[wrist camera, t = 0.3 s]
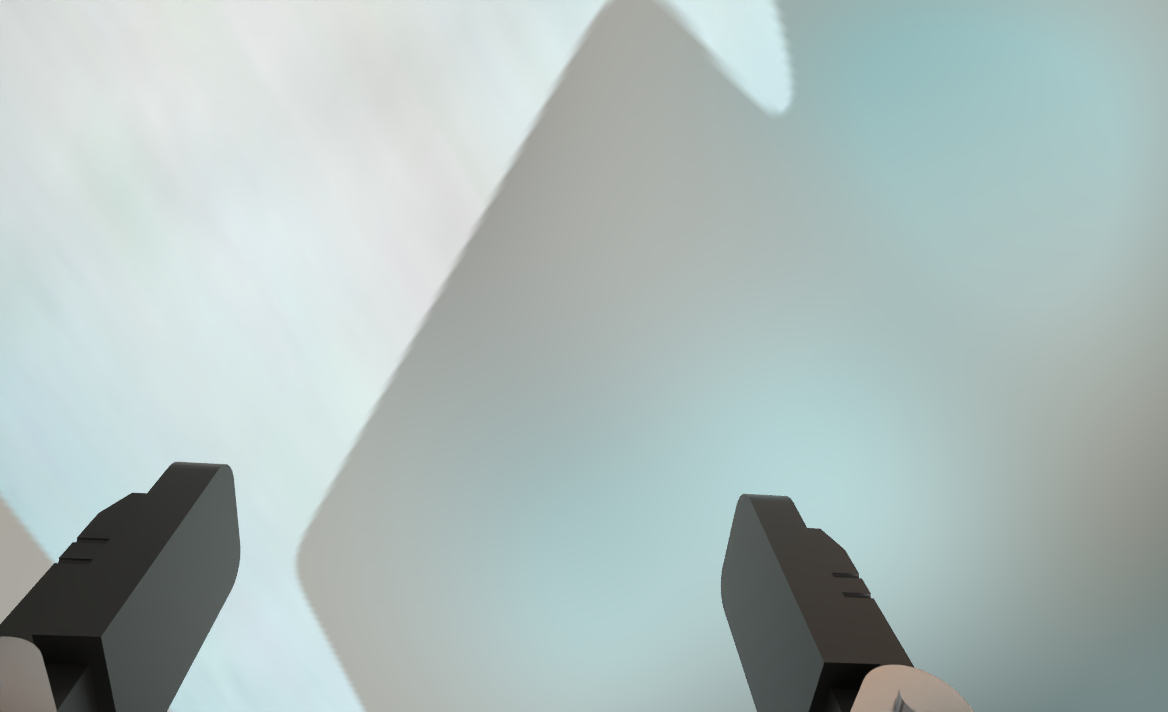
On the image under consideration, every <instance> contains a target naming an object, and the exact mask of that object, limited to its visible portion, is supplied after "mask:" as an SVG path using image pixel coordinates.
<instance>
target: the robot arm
mask: <svg viewBox="0 0 1168 712" xmlns="http://www.w3.org/2000/svg"><path fill="white" fill-rule="evenodd" d="M239 561H240V539H239V528H238V518H237V507H236V497H235V487H234V477H233V473H232V470H231V468H230V466H228V465H226V464H208V463H190V462H174V463H173V464H171V465H170V466H169V467H168V469H167V470H166V471H165V472H164V473H163V475H162V476H161V477H160V478H159V480H158V481H157V482H156V483H155V484H154V486H153V487H152V488H151V489H150V491H149V492H148V493H147V494H145V493H131V494H129V495H128V496H126V497H124V498H123V499H121V500H120V501H118V502H116V503H115V504H113V505H111V506H110V507H108V508H106V509H105V510H103V511H101V512H100V513H98V515H97V516H96V517H95V518H94V519H93V520H92V521H91V522H90V524H89V525H88V526H87V527H86V528H85V529H84V530H83V531H82V533H81V534H80V535H79V536H78V537H77V542H76V543H75V542H73V543H72V544H71V545H70V546H69V547H68V548H67V550H66V551H65V552H64V553H63V554H62V555H61V556H60V557H59V562H58V563H54V564H53V565H52V567H51V568H50V569H49V570H48V571H47V572H46V573H45V575H44V576H43V577H42V578H41V579H40V580H39V581H38V582H37V583H36V585H35V586H34V587H33V588H32V589H31V590H30V591H29V593H28V594H27V595H26V596H25V597H24V598H23V599H22V600H21V602H20V603H19V604H18V605H17V606H16V607H15V608H14V610H13V611H12V612H11V613H10V614H9V615H8V616H7V617H6V619H5V620H4V621H3V622H2V623H1V624H0V712H167V710H168V708H169V706H170V704H171V703H172V701H173V699H174V697H175V695H176V693H177V691H178V689H179V687H180V686H181V684H182V682H183V680H184V678H185V676H186V674H187V672H188V671H189V669H190V667H191V665H192V663H193V661H194V659H195V657H196V655H197V654H198V652H199V650H200V648H201V646H202V644H203V642H204V640H205V639H206V637H207V635H208V633H209V631H210V629H211V627H212V625H213V623H214V622H215V620H216V618H217V616H218V614H219V612H220V610H221V608H222V607H223V605H224V603H225V601H226V599H227V597H228V595H229V593H230V591H231V589H232V587H233V585H234V582H235V579H236V576H237V572H238V567H239ZM870 594H871V593H870V592H869V590H868V588H867V587H866V585H865V583H864V581H863V580H862V579H861V578H859V573H858V571H857V570H856V568H855V566H854V565H853V563H852V561H851V559H850V558H849V556H848V555H847V553H846V551H845V550H844V549H843V548H842V547H841V546H840V545H839V544H837V543H836V542H835V541H834V540H833V539H832V538H830V537H829V536H828V535H827V534H826V533H825V532H823V531H822V530H821V529H814V528H807V527H806V525H805V523H804V521H803V520H802V518H801V516H800V514H799V512H798V510H797V508H796V507H795V505H794V503H793V502H792V500H791V499H790V498H789V497H787V496H772V495H753V494H743V495H741V496H740V498H739V500H738V503H737V506H736V510H735V515H734V519H733V524H732V528H731V532H730V537H729V542H728V546H727V551H726V555H725V559H724V564H723V568H722V577H721V595H722V603H723V608H724V611H725V614H726V617H727V620H728V623H729V626H730V630H731V632H732V636H733V639H734V642H735V645H736V648H737V651H738V654H739V657H740V660H741V663H742V666H743V670H744V672H745V676H746V679H747V682H748V684H749V688H750V691H751V694H752V697H753V700H754V703H755V706H756V710H757V712H974V711H973V709H972V707H970V705H969V704H968V702H967V701H966V700H965V699H964V698H963V697H962V696H961V695H960V694H959V693H958V692H957V691H956V690H955V689H953V688H952V687H951V686H949V685H948V684H947V683H945V682H944V681H942V680H941V679H939V678H937V677H935V676H933V675H932V674H929V673H927V672H924V671H922V670H920V669H916V668H914V666H913V664H912V663H911V661H910V659H909V658H908V656H907V654H906V653H905V651H904V649H903V647H902V646H901V644H900V642H899V641H898V639H897V637H896V636H895V634H894V632H893V630H892V629H891V627H890V625H889V624H888V622H887V620H886V619H885V617H884V615H883V614H882V612H881V610H880V609H879V607H878V605H877V603H876V602H875V600H874V599H872V598H871V597H870Z"/></svg>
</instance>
